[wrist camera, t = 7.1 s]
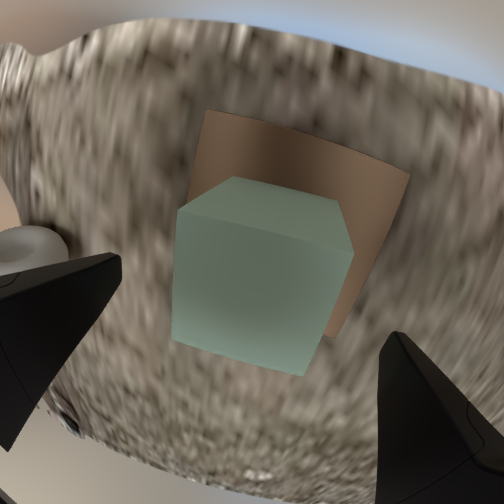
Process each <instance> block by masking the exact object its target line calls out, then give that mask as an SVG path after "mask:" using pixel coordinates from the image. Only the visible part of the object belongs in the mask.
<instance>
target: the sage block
mask: <svg viewBox="0 0 504 504" xmlns="http://www.w3.org/2000/svg"><path fill="white" fill-rule="evenodd" d="M353 256H354V250H353V247H352V244H351V240H350V237H349V234H348V231H347V228H346V224H345V221H344V218H343V215H342V212H341V209H340V206H339V203H338V201H336V200H332V199H329V198H325V197H321V196H317V195H314V194H310V193H306V192H302V191H298V190H294V189H289V188H285V187H281V186H277V185H272V184H268V183H264V182H259V181H254V180H250V179H245V178H240V177H235V176H232V177H231V178H229V179H227V180H226V181H224V182H222V183H220V184H219V185H217V186H215V187H214V188H212V189H210V190H209V191H207V192H205V193H204V194H202V195H200V196H199V197H197V198H196V199H194V200H192V201H191V202H189V203H187V204H186V205H184V206H183V207H181V208H179V209H178V211H177V222H176V235H175V250H174V268H173V291H172V340H175V341H178V342H181V343H184V344H187V345H190V346H193V347H196V348H199V349H202V350H205V351H208V352H211V353H215V354H218V355H221V356H225V357H228V358H231V359H235V360H238V361H242V362H246V363H249V364H253V365H257V366H261V367H264V368H268V369H272V370H277V371H281V372H285V373H289V374H294V375H298V376H303V377H304V375H305V372H306V370H307V368H308V366H309V364H310V362H311V360H312V358H313V355H314V353H315V351H316V349H317V347H318V344H319V342H320V340H321V337H322V335H323V333H324V331H325V328H326V326H327V323H328V321H329V319H330V316H331V314H332V311H333V309H334V306H335V304H336V301H337V299H338V296H339V294H340V291H341V289H342V286H343V283H344V281H345V278H346V275H347V273H348V270H349V267H350V264H351V262H352V259H353Z"/></svg>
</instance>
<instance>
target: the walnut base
mask: <svg viewBox="0 0 504 504" xmlns="http://www.w3.org/2000/svg"><path fill="white" fill-rule="evenodd" d="M410 175H411V174H410V173H408V172H406V171H404V170H401V169H399V168H397V167H395V166H393V165H391V164H388V163H386V162H383V161H381V160H379V159H376V158H374V157H371V156H369V155H366V154H363V153H361V152H358V151H356V150H353V149H350V148H348V147H345V146H342V145H339V144H336V143H333V142H331V141H328V140H325V139H322V138H319V137H315V136H312V135H309V134H306V133H303V132H299V131H296V130H293V129H289V128H286V127H282V126H279V125H275V124H271V123H267V122H264V121H260V120H256V119H252V118H247V117H243V116H239V115H234V114H230V113H225V112H219V111H214V110H208V109H206V110H205V115H204V119H203V123H202V127H201V131H200V136H199V140H198V145H197V149H196V154H195V159H194V164H193V169H192V174H191V179H190V184H189V189H188V194H187V200H186V204H187V203H189V202H191V201H192V200H194V199H196V198H197V197H199V196H200V195H202V194H204V193H205V192H207V191H209V190H210V189H212V188H214V187H215V186H217V185H219V184H220V183H222V182H224V181H226V180H227V179H229V178H231V177H232V176H235V177H240V178H245V179H250V180H254V181H259V182H264V183H268V184H272V185H277V186H281V187H285V188H289V189H294V190H298V191H302V192H306V193H310V194H314V195H317V196H321V197H325V198H329V199H332V200H336V201H338V203H339V206H340V209H341V212H342V215H343V218H344V221H345V224H346V228H347V231H348V234H349V237H350V240H351V244H352V247H353V250H354V256H353V259H352V262H351V264H350V267H349V270H348V273H347V275H346V278H345V281H344V283H343V286H342V289H341V291H340V294H339V296H338V299H337V301H336V304H335V306H334V309H333V311H332V314H331V316H330V319H329V321H328V323H327V326H326V328H325V331H324V333H323V335H325V336H328V337H332V338H336V336H337V334H338V333H339V331H340V329H341V327H342V325H343V324H344V322H345V320H346V318H347V316H348V314H349V313H350V311H351V309H352V307H353V305H354V303H355V301H356V299H357V297H358V296H359V294H360V292H361V290H362V288H363V286H364V284H365V282H366V280H367V278H368V275H369V273H370V271H371V269H372V267H373V265H374V263H375V261H376V259H377V256H378V254H379V252H380V250H381V248H382V245H383V243H384V241H385V239H386V236H387V234H388V232H389V229H390V227H391V224H392V222H393V220H394V217H395V215H396V212H397V210H398V207H399V205H400V202H401V199H402V197H403V194H404V192H405V189H406V186H407V183H408V181H409V178H410Z"/></svg>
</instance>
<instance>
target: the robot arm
mask: <svg viewBox="0 0 504 504" xmlns="http://www.w3.org/2000/svg"><path fill="white" fill-rule="evenodd" d="M121 280H122V261H121V257H120V256H119V255H117V254H114V253H111V252H108V253H103V254H98V255H93V256H89V257H84V258H79V259H74V260H69V261H65V262H60V263H55V264H51V265H46V266H42V267H37V268H33V269H28V270H24V271H22V272H20V271H19V272H15V273H10V274H6V275H1V276H0V445H1V446H2V447H3V448H4V449H5V450H6V451H7V452H8V451H9V450H10V449H11V447H12V445H13V443H14V442H15V440H16V438H17V436H18V435H19V433H20V431H21V430H22V428H23V426H24V424H25V423H26V421H27V420H28V418H29V416H30V415H31V413H32V412H33V410H34V408H35V406H36V405H37V403H38V402H39V400H40V399H41V397H42V396H43V394H44V393H45V391H46V390H47V388H48V386H49V385H50V384H51V382H52V381H53V379H54V378H55V376H56V375H57V373H58V372H59V370H60V369H61V368H62V366H63V365H64V363H65V362H66V360H67V359H68V358H69V356H70V355H71V353H72V352H73V351H74V349H75V348H76V347H77V345H78V344H79V343H80V341H81V340H82V338H83V337H84V336H85V334H86V333H87V332H88V331H89V329H90V328H91V327H92V325H93V324H94V323H95V321H96V320H97V319H98V317H99V316H100V314H101V313H102V311H103V310H104V308H105V307H106V305H107V304H108V302H109V300H110V299H111V297H112V296H113V294H114V293H115V291H116V289H117V288H118V286H119V285H120V283H121ZM377 406H378V464H377V484H376V497H375V504H504V437H503V436H502V435H501V434H500V433H499V432H498V431H497V430H496V429H495V428H494V427H493V426H492V425H491V424H490V423H489V422H488V421H487V420H486V419H485V418H484V417H483V415H482V414H481V413H480V412H479V411H478V410H477V409H476V408H475V407H474V406H473V404H472V403H471V402H470V401H468V399H467V398H466V397H465V396H464V395H463V393H462V392H461V391H460V390H459V389H458V388H457V387H456V386H455V385H454V384H453V383H452V382H451V381H450V379H449V378H448V377H447V376H446V375H445V374H444V373H443V372H442V371H441V370H440V369H439V368H438V367H437V366H436V365H435V364H434V363H433V362H432V360H431V359H430V358H429V357H428V356H427V355H426V354H425V353H424V352H423V351H422V350H421V349H420V348H419V347H418V346H417V345H416V344H415V343H414V342H413V341H412V340H411V339H410V338H409V337H408V336H407V335H406V334H405V333H402V332H398V331H393V332H392V333H391V334H390V335H389V337H388V339H387V340H386V342H385V344H384V345H383V347H382V349H381V351H380V354H379V373H378V391H377ZM0 504H17V503H15V502H14V501H13V500H12V499H11V498H10V497H9V496H8V495H7V494H6V493H5V492H4V491H3V490H2V489H1V488H0Z"/></svg>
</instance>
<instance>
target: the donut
mask: <svg viewBox="0 0 504 504" xmlns="http://www.w3.org/2000/svg"><path fill="white" fill-rule="evenodd" d="M65 261H68V249H67V245H66V244H65V243H64V241H63V240H62V238H61V237H60V235H59V234H57V233H56V232H54V231H52V230H51V229H49V228H45V227H41V226H19V227H14V228H11V229H7V230H4V231H2V232H0V276H1V275H6V274H10V273H15V272H19V271H20V272H22V271H24V270H28V269H33V268H37V267H42V266H46V265H51V264H55V263H60V262H65Z"/></svg>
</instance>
